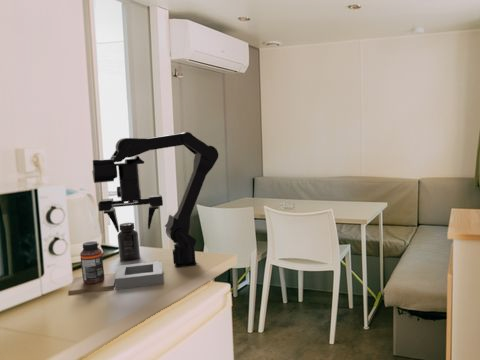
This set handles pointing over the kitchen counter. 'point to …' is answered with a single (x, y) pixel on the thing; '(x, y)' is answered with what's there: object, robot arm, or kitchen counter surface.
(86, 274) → the supplement bottle
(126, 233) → the supplement bottle
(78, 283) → the walnut board
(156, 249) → the kitchen counter surface
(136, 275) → the block
